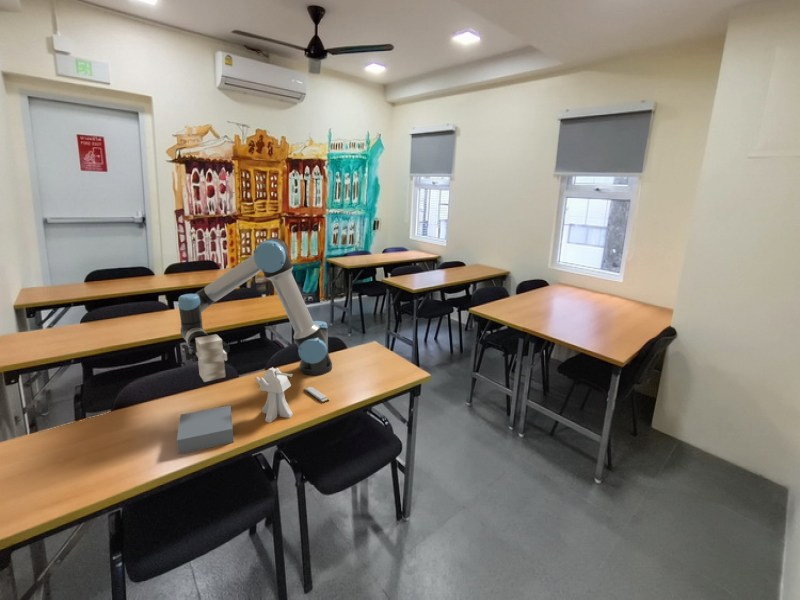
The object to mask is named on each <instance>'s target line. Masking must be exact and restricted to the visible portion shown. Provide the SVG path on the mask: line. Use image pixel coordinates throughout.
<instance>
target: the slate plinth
mask: <svg viewBox="0 0 800 600" xmlns="http://www.w3.org/2000/svg"><path fill="white" fill-rule="evenodd" d="M232 416H233V414H232V408H231V405H226V406H220V407H213V408H209V409H204V410H197V411H192V412H188V413H187V412H186V413H181V414H180V415H179V423H178V429H177V434H176V447H177V452H178V455H181V454H186V453H190V452H195V451H199V450H204V449H208V448H212V447H218V446H222V445H226V444H233V443H234V442H235V440H234V429H233V428H234V425H233V418H232Z"/></svg>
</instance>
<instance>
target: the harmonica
mask: <svg viewBox="0 0 800 600" xmlns="http://www.w3.org/2000/svg"><path fill="white" fill-rule="evenodd" d="M303 391H304V392H305V391H306V393H307V394H308V395H310V396H312V397H313V398H314V399H315V400H317V402H320V403H321V404H322V403H323V404H325V402H326V403H328V402H330V400H329V398H327V396H326V395H325V394H324V393H322V392H321V391H319V390H318V389H317V388H314V387H313V386H307V387H304V388H303ZM319 400H320V401H319Z"/></svg>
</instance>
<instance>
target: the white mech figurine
mask: <svg viewBox="0 0 800 600" xmlns="http://www.w3.org/2000/svg"><path fill="white" fill-rule="evenodd" d="M288 377H290V378H293V373H284V372H282V371H280V369H279V368H278V367H276V368H274V367H273V366H272V367H270V368H268V369H267V370H266V371H265V373H264V375H263V376H262V377H259V376H256V377H254V380H255V382H257V384H258V385H260V386H259V390H260V391H263V392H267V397H266V402H265V403H264V406H263V408H262V409H261V413H263V414H266V416H265V419H264V420H265V422H266V423H272V422H273V421H274V420H276V419H277V417H278V418H279V417H283V418H286V419H290V418H292V417H293V416H294V414H293V412H292V410H291V408H290V406H289V403H288V402H287V400H286V396H285V391H287V390H288V389H290V387H291V386H292V384H291V382H290V380H289V379H288Z"/></svg>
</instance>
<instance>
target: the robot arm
mask: <svg viewBox="0 0 800 600" xmlns="http://www.w3.org/2000/svg"><path fill="white" fill-rule="evenodd" d="M289 253H290V250H289V246H288V245H287V243H286V242H285V241H284V240H282V239H281V238H279V237H269V238H267V239H264V240H263V241H262V242H259V244H258V245H257V246H256V248H255V249H254V251H253V252H252V255H250V256H249V257H247V258H246V259H244V260H243V261H241V262H240V263H238V264H237V265H236V266H234V267H233V268H231V269H230V270H228V271H226V272H225V273H224V274H222V275H220V276H219V277H218V278H216V279H215V280H213V281H212V282H210V283H209V284H207V285H206V286H205V287H203V288H202V289H200V290H198V291H196V292H195V293H185V294H182V295H181V294H180V296H178V304H177V306H178V309H179V310H178V311H179V317H180V329H179V330H180V336H181V337H182V339H184V341H185V342H186V343H187V344H182V345H181V349H182V353H183V354H184V357H185V360H186V361H190V360H192V362H193V363H194V362H197V364H198V363H199V364H200V366H203V359H202V357H201V356H200V354H199V353H198V352H197V349H196V340H195V338H198V337H204V336H210V335H209V334H208V333H207V332H206V331H205V330H204V327H203V318H202V313H203V312H204V311H205V310H206V309H207V308H208V307H210V306H212V305H213V304H214V303H216V302H218V301H219V300H220V299H222V298H223V297H226V296H227V295H228V294H229V293H231V292H232V291H234V290H235V289H237V288H238V287H240V286H242V285H243V284H245V283H246V282H247V281H249V280H250V279H252V278H253V277H255V276H256V275H258V274H260V273H261V272H262V274H263V275H264V278H265V279H266V280H269V281H270V282H271V284H272V285H273V288H274V289H275V290H274V291H275V292H276V294H277V297H278V298H279V300H280V303H281V305H282V307H283V310H284V312H285V313H286V316H287V317H288V320H289V322H290V324H291V327H292V329H293V331H294V334H293V339H294V341H295V344H296V346H297V348H298V349H297V352H298V356H299V358H300V359H301V360H300V362H299V372H300V373H301V372H302V373H301V374H303V375H306V376H319V375H320V374H321V375H324V373H325V374H327V373H329V372H331V371H332V369H333V362H332V360H331V357H330V354H329V343H328V342H329V339H328V335H329V334H328V328H329V327H328V324H327V322H325V321H324V320H322V321H321V320H313V318H312V316H311V314H310V311H309V309H308V306H307V305H306V301H305V300H304V298H303V296H302V293H301V291H300V288H299V286H298V284H297V281H296V280H295V277H294V275H293V272H292V271H293V269H294V265H293V263H292V262H291V259H290V257H289V256H290V255H289ZM222 344H223V356H224V362H226V361H228V353H230V351H231V350H230V345H229V344H228V342H227V343H226V342H225V341H224V340H222ZM190 350H191V353H190ZM326 372H327V373H326ZM321 375H320V376H321Z"/></svg>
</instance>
